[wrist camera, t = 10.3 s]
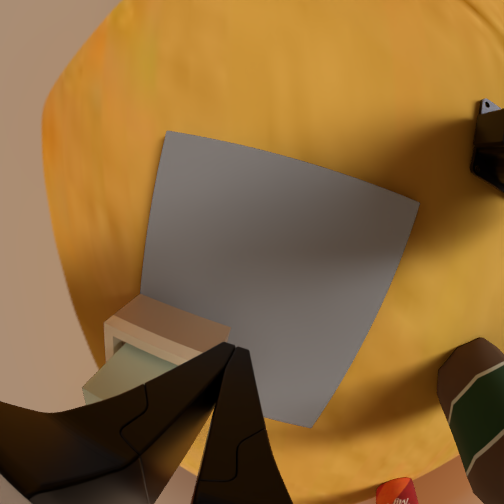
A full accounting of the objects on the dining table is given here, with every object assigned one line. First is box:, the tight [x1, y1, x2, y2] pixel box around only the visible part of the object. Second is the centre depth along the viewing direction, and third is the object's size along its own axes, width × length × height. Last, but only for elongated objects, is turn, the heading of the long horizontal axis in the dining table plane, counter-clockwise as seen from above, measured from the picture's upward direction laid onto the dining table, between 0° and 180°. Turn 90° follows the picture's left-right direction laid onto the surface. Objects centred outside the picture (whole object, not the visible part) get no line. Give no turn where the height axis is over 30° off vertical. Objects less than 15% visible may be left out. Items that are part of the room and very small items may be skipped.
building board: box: [104, 131, 420, 428], centre depth 19 cm, size 18×22×6 cm
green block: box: [82, 343, 178, 405], centre depth 16 cm, size 5×5×6 cm
